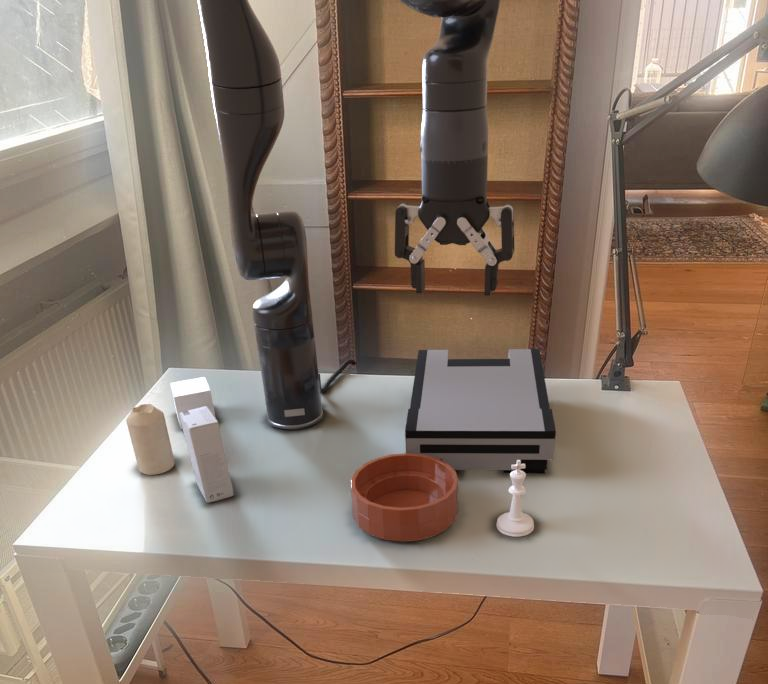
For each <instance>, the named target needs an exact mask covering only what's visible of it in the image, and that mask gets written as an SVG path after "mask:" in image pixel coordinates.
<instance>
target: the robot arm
mask: <svg viewBox="0 0 768 684" xmlns="http://www.w3.org/2000/svg"><path fill="white" fill-rule="evenodd" d="M398 2H400V3H402V4H403V5H405V6H406V7H407V8H409V9H411V10H413V11H415V12H417V13H420V14H422V15H425V16H428V17H432V18H437V19H441V20H440V27H439V35H438V39H437V41H436V42H435V44H433V45H432V46H431V47H429V48H428V49H427V51H426V52H425V53H424V55H423V59H422V65H421V83H422V84H421V89H422V92H421V95H422V99H421V100H422V115H421V124H420V142H419V150H420V151H419V152H420V161H421V162H420V163H421V168H420V170H421V202H420V205H410V204H409V203H407V202H401V204H399V206H398V207H397V208H396V209H395V213H394V214H395V215H394V217H395V218H394V256H395V257H396V258H397V259H403V260H406V261H408V263H409V264H410V286H411V288H412V289H415V292H416V294H423V293H424V292H425V289H426V265H425V264H426V262H425V260H426V259H425V258H424V259H423V256H424V255H425V253H426V252H427V251H428V249H429V247H430V246H431V245H432V243H434V241H435V242H436V243H438V244H439V245H440V246H447V245H452V244H454V245H457V246H467V244H471V245H472V246H473V247H474V249H475V251H476V252H477V253H479V254H480V255H481V257H482V258H483V260H484V261H485V262H486V263H485V265H484V293H483V294H484V296H489V297H491V296H492V292H496V289H497V287H498V285H499V265H500V264H501V263H502V262H503V263H504V262H505V261H506V262H508V261H511V260H512V258H513V256H514V253H515V207H514V205H513V204H512V203H509V202H508V203H505V204H504V205H503V206H490V204H489V202H488V164H489V163H488V160H489V159H488V158H489V156H488V155H489V122H488V110H487V109H488V106H487V104H488V60H489V56H490V55H489V54H490V50H491V47H492V43H493V40H494V35H495V30H496V24H497V20H498V15H499V10H500V5H501V4H500V3H501V0H398ZM197 5H198V10H199V11H198V12H199V17H200V22H201V29H202V34H203V39H204V46H205V53H206V60H207V67H208V78H209V84H210V91H211V98H212V105H213V110H214V117H215V122H216V128H217V132H218V140H219V144H220V150H221V155H222V161H223V169H224V176H225V183H226V193H227V204H228V214H229V215H228V217H229V226H230V237H231V246H232V252H233V258H234V263H235V266H236V270H237V272H238V274H239V275H240V277H241V278H242V279H244V280H245V281H260V280H261V281H262V280H270V279H279V278H280V279H281V278H285V280H284V281H283V282H282V283H281V284H280V286H278V287H277V288H276V289H273V290H272V291H271V292H268V293H267V294H265V295H263V296H261V297H260V298H257V300H256V301H255V302H254V303H253V305H252V308H251V309H252V311H251V313H252V320H253V326H254V333H255V340H256V345H257V347H256V348H257V353H258V360H259V366H260V373H261V379H262V380H261V381H262V386H263V394H264V401H265V407H266V408H265V409H266V419H267V422H268V424H269V425H270V426H271V427H273V428H277V429H279V430H287V431H288V430H291V431H292V430H300V429H305V428H308V427H311V426H314V425H316V424H318V423H319V422H320V421H321V420H322V419H323V417H324V412H323V411H324V410H323V407H322V396H321V394H323V393H326V392H327V391H328V389H329V388H330V386H331V384H332V383H333V382H334V381H335V380H336V378H337V377H338V376H339V375H340V374H341V373H343V371H344V370H345V369H346V367H348V366H349V365H352V366H353V365H354V366H356V365H357V362H356V361H355V360H354V359H350V358H349V359H346V360H345V361H344V362H343V363H342V364H341V365H340V367H339V368H338V369H336V371H335V372H333V373H332V374H331V376H330V377H329V378H328V379H327V380H326V382H325V384H324V385H323V386H322V380H321V379H322V378H321V373H319V366H318V358H317V349H316V339H315V329H314V321H313V311H312V310H313V309H312V302H311V301H312V300H311V291H310V280H309V263H308V259H309V258H308V243H307V234H306V227H305V224H304V222H303V219H302V217H301V215H300V214H299V213H298V212H297V211H295V210H285V211H284V210H283V211H274V212H265V213H257V214H256V213H254V214H252V209H253V201H254V195H255V191H256V188H257V185H258V181H259V179H260V175H261V173H262V171H263V168H264V166H265V164H266V162H267V160H268V158H269V157H270V154H271V152H272V151H273V148H274V146H275V144H276V142H277V139H278V138H279V135H280V133H281V130H282V128H283V124H284V121H285V103H284V102H285V101H284V90H283V81H282V79H283V78H282V71H281V63H280V60H279V57H278V54H277V51H276V49H275V47H274V45H273V43H272V41H271V39H270V37H269V35H268V33H267V32H266V30H265V28H264V27H263V25H262V23H261V21H260V20H259V18H258V17H257V15H256V13H255V11H254V10H253V8H252V6H251V4H250V2H249V0H197ZM416 217H418V218H419V220H420V222H421V223H422V225H423V226H424V228H425V229H426V233H425V234H424V236H423V237H422V238H421V240H420V241H419V242H418V244H417V245H416V247H413V246H410V226H411V225H412V224H413V223H414V222H415V219H416ZM490 218H492V219H493V220H494V224H495V226H497V227H500V230H501V231H500V233H501V234H500V235H501V248H496V247H495V245H494V243H493V242H492V241H491V238H490V236H489V234H488V233H487V232H486V230H485V228H484V226H485V224H486V223H487V222H488V220H489V219H490Z"/></svg>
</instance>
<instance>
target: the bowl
mask: <svg viewBox="0 0 768 684" xmlns="http://www.w3.org/2000/svg"><path fill="white" fill-rule="evenodd" d="M350 491H351V503H352V514H353V520H354V522H355V523H356V524H357V526H358V528H359V529H361V530H362V531H363V532H365V533H367V534H368V535H370V536H373V537H375V538H379V539H381V540H385V541H393V542H414V541H415V542H416V541H420V540H421V541H422V540H424V539H428V538H432V537H435V536H437V535H439V534H441V533H442V532H445V531H446V530H448V529H449V528H450V527H451V525H453V524H454V522H456V519H457V517H458V513H459V477H458V473H457V470H454V469H453V468H452V467H451V466H450V465H449V464H447V463H446V462H444V461H442V460H440V459H438V458H435V457H431V456H427V455H423V454H412V453H406V452H405V453H392V454H389V455H384V456H383V455H382V456H379V457H376V458H374V459H372V460H369V461H367V462H365V463H363V464H362V465H361V466H360V467H359V468H357V469H356V470H355V471H354V473H353V475H352V477H351V479H350Z"/></svg>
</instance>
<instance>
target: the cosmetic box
mask: <svg viewBox="0 0 768 684" xmlns="http://www.w3.org/2000/svg"><path fill="white" fill-rule="evenodd" d="M215 417H216V416H215ZM215 417H214V416H213V414H212V413H211V412H210V410H209V409H208V407H207V406H205V407H200V408H196V409H193V410H189V411H185V412H181V413H180V419H181V423H182V427H183V429H182V431H183V434H184V438H185V443H186V447H187V451H188V454H189V459H190V462H191V465H192V470H193V474H194V478H195V482H196V485H197V487H198V489H199V491H200V493H201V494H202V496H203V499H204V500H205V502H206V503H213V502H217V501H220V500H224V499H228V498H231V497H234V494H235V493H234V487H233V484H232V480H231V474H230V470H229V465H228V460H227V455H226V452H225V447H224V443H223V438H222V434H221V429H220V424H219V421H218V419H217V417H216V418H215Z"/></svg>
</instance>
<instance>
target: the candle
mask: <svg viewBox="0 0 768 684" xmlns="http://www.w3.org/2000/svg"><path fill="white" fill-rule="evenodd" d="M125 422H126V426H127V429H128V433H129V437H130V441H131V445H132V448H133V452H134V456H135V461H136V464H137V468H138V470H139V472H140V473H142V474H144V475H149V476H154V475H160V474H164V473H166V472H168V471H170V470H171V469H172V468H173V467H174V466H175V456H174V452H173V448H172V443H171V440H170V433H169V431H168V426H167V422H166V417H165V414H164V411H163V410H161V409H159V408H157V407H156V406H155V405H153V404H151V403H143V404H140V405H139V406H136V407H132V409H131V410H130V412H129V413H128V415H127V417H126V419H125Z"/></svg>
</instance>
